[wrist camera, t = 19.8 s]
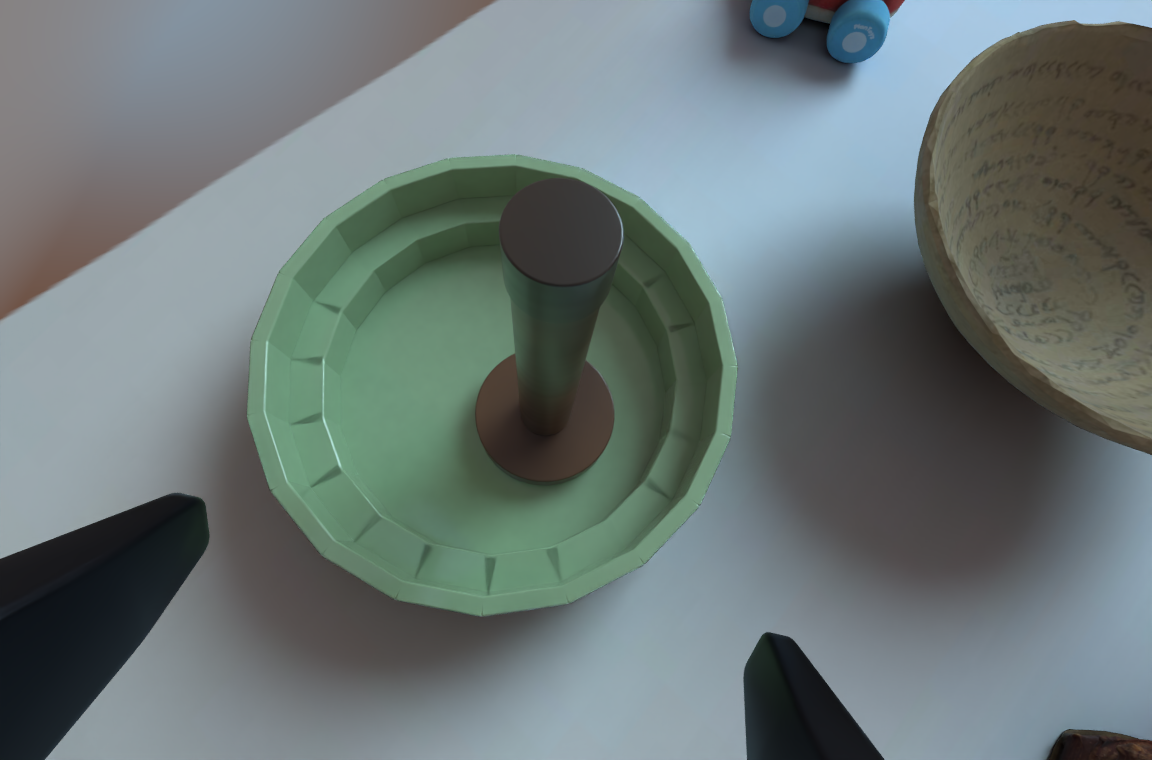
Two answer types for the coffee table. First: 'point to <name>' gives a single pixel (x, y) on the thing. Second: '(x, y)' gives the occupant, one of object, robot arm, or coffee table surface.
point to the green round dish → (451, 386)
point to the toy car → (830, 22)
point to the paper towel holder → (552, 334)
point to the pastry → (1100, 746)
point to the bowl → (1050, 219)
